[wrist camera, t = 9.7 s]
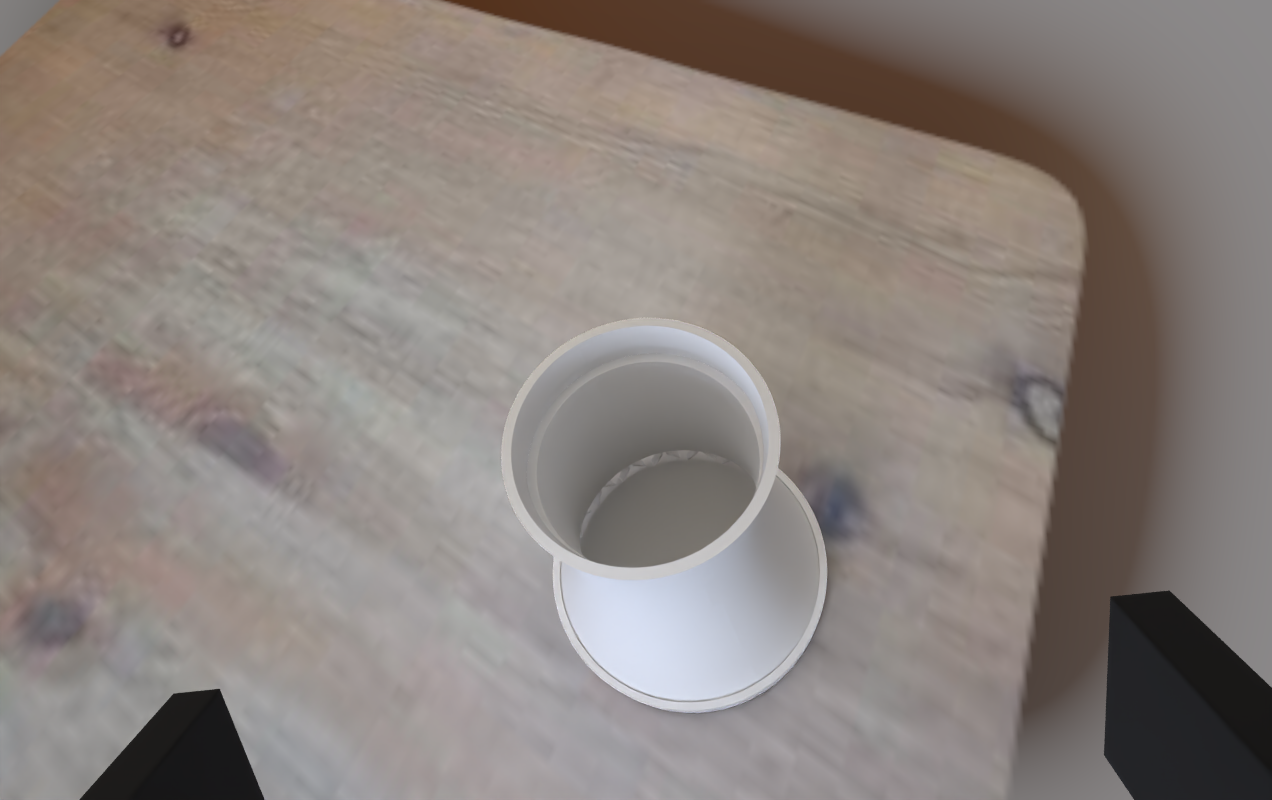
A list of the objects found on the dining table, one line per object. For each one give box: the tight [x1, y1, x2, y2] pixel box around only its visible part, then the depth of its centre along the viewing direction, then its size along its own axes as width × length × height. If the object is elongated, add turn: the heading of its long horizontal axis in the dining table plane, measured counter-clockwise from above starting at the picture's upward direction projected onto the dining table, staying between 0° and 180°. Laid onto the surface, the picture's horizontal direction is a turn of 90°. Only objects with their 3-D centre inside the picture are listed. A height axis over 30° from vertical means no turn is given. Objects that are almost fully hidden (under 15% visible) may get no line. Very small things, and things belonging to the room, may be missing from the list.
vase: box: [501, 318, 827, 713], centre depth 18 cm, size 8×8×10 cm
